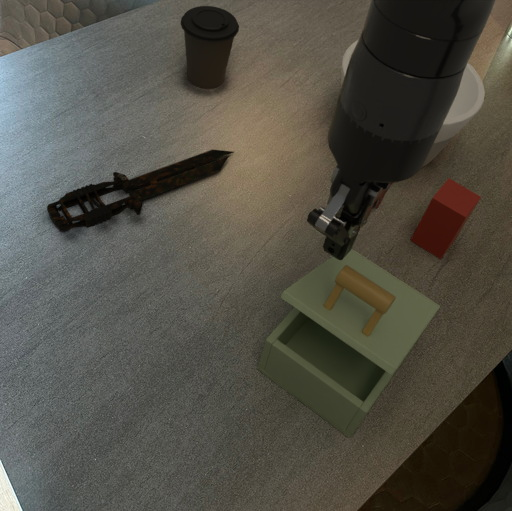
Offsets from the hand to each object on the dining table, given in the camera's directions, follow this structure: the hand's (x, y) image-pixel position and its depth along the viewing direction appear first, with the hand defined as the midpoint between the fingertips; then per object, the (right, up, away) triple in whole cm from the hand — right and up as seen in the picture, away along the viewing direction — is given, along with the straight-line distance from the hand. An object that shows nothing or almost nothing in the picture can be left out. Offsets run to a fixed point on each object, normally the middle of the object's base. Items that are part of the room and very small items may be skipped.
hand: (336, 250), depth 57 cm
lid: (+3, -5, +3) cm, 7 cm away
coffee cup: (-15, +26, +36) cm, 47 cm away
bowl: (+12, +17, +33) cm, 39 cm away
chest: (+2, -11, +10) cm, 15 cm away
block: (+15, +1, +22) cm, 27 cm away
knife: (-21, +8, +21) cm, 31 cm away
